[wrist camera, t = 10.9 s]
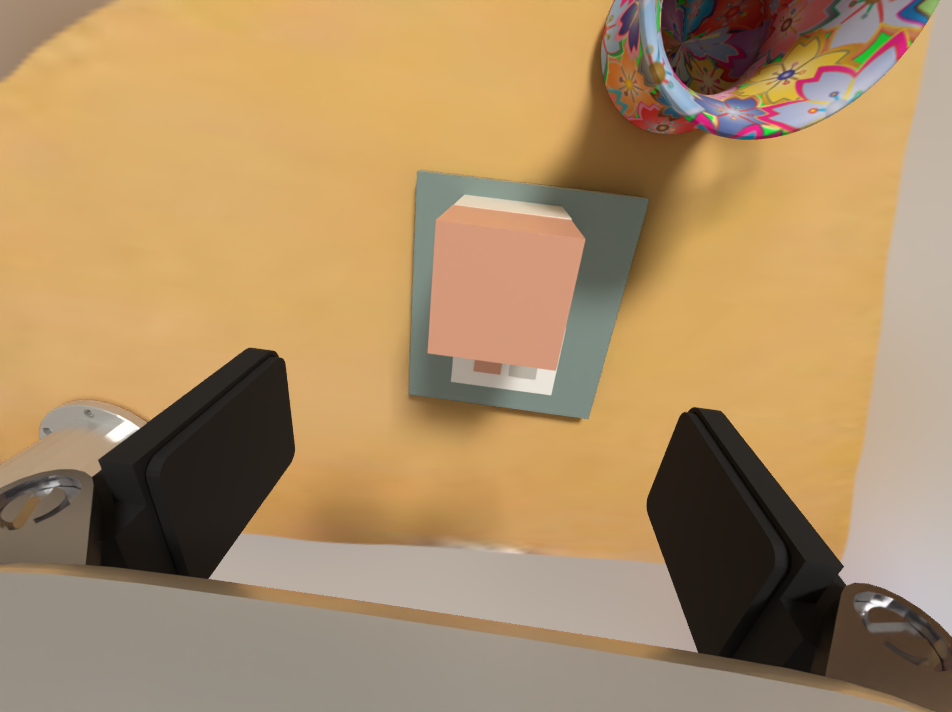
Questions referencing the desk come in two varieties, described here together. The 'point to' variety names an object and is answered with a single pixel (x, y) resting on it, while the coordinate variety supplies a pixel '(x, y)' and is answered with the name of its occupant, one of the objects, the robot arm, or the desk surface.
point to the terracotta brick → (502, 286)
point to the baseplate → (591, 312)
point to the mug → (750, 60)
